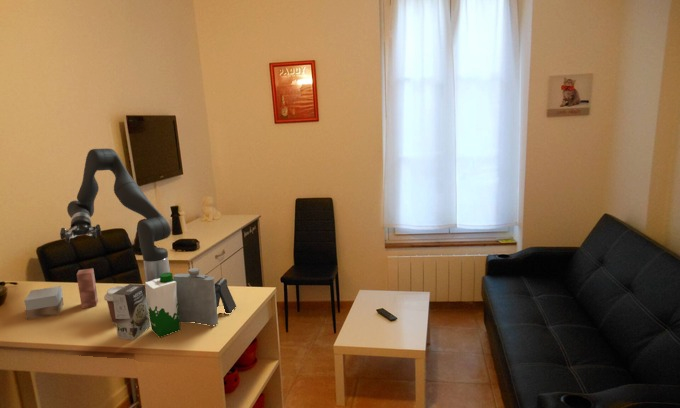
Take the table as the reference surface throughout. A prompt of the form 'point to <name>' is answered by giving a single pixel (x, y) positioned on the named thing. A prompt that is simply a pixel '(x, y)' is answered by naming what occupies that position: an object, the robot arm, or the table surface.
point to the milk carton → (163, 304)
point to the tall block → (87, 288)
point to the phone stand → (224, 295)
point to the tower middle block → (43, 298)
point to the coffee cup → (109, 299)
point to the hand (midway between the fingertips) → (81, 239)
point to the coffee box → (131, 311)
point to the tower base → (44, 311)
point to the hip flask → (196, 298)
